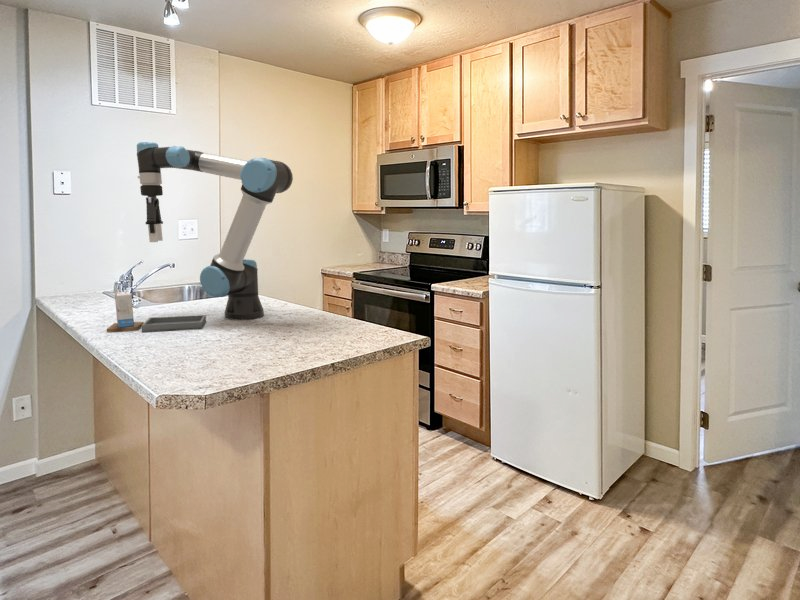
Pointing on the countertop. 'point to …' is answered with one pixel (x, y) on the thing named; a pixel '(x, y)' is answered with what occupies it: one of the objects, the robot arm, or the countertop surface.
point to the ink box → (124, 308)
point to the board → (116, 328)
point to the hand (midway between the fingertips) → (156, 241)
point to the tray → (174, 323)
